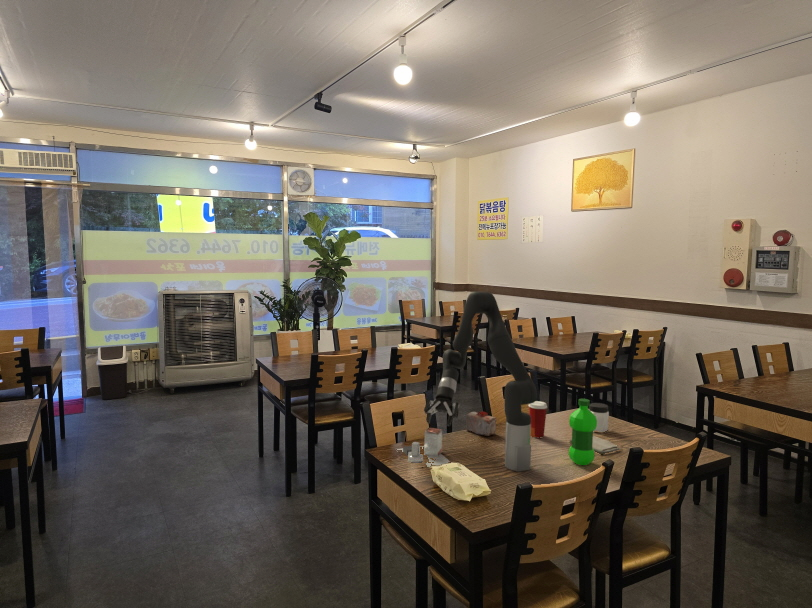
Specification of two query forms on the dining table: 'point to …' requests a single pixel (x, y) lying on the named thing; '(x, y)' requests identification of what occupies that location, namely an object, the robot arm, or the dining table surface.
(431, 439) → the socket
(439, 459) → the mat
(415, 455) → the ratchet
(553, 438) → the dining table surface
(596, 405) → the jar
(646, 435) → the dining table surface
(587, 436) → the plastic bottle
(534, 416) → the coffee cup
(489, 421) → the food item
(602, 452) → the washcloth
